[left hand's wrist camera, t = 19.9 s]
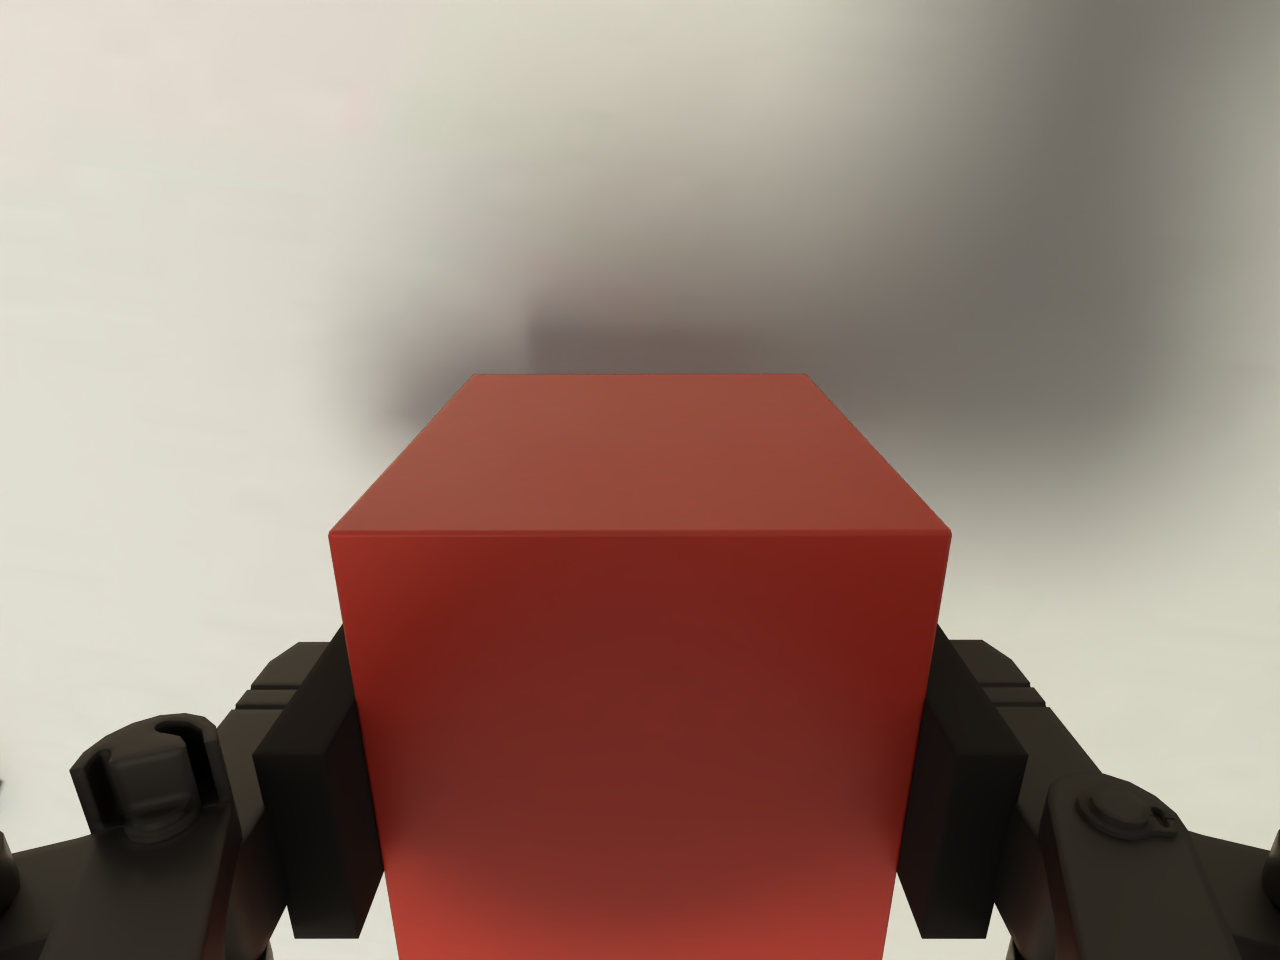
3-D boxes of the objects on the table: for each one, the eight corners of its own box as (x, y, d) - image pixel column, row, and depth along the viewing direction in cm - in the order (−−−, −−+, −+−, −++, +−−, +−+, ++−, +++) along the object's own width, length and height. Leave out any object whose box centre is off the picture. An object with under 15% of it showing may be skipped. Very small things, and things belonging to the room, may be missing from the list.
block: (497, 676, 17) (404, 996, 10) (472, 373, 15) (324, 532, 8) (782, 675, 17) (877, 995, 10) (806, 373, 15) (954, 531, 8)
